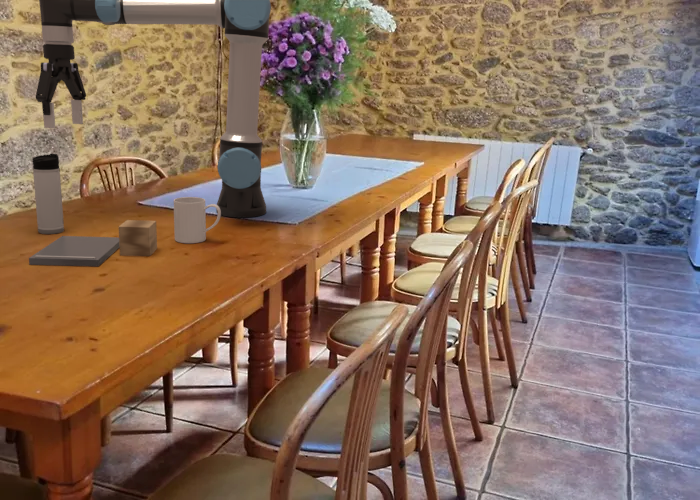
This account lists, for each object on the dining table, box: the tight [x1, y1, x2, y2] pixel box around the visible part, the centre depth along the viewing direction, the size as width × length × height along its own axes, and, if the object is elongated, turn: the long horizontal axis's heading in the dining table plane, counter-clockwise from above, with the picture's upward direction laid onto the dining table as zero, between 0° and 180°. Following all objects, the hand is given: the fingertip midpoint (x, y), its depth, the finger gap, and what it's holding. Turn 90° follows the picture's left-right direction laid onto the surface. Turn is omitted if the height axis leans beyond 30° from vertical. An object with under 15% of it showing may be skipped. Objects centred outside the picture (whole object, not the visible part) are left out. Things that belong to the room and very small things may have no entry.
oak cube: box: [118, 219, 158, 257], centre depth 163 cm, size 7×7×7 cm
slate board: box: [28, 235, 120, 267], centre depth 160 cm, size 15×20×2 cm
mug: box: [173, 196, 222, 244], centre depth 175 cm, size 12×8×10 cm, turn 79°
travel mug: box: [32, 153, 65, 235], centre depth 177 cm, size 6×7×20 cm
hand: (64, 125), depth 185 cm, fingers open, 13 cm apart
